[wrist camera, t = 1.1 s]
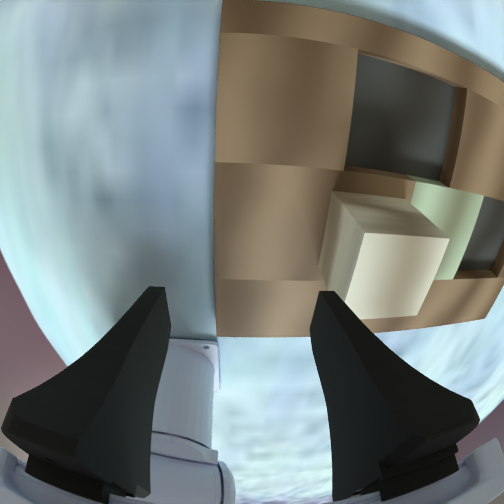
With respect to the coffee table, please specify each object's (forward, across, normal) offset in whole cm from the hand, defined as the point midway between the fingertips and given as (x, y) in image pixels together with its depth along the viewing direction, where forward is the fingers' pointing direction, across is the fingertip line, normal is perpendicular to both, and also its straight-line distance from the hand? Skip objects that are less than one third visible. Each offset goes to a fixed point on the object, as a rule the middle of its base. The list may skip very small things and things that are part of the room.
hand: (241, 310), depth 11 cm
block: (+7, -8, 0) cm, 10 cm away
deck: (+8, -12, -2) cm, 15 cm away
